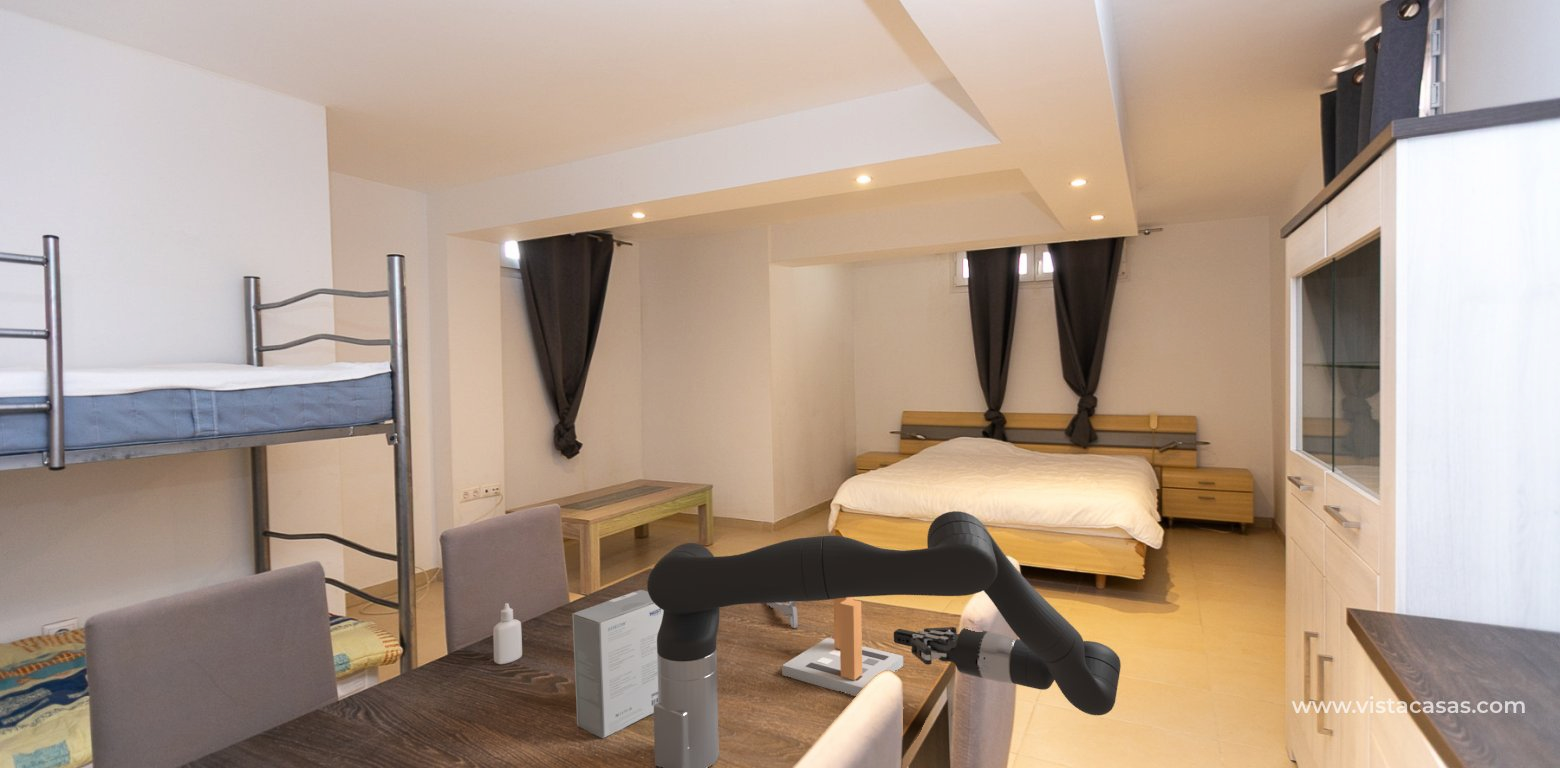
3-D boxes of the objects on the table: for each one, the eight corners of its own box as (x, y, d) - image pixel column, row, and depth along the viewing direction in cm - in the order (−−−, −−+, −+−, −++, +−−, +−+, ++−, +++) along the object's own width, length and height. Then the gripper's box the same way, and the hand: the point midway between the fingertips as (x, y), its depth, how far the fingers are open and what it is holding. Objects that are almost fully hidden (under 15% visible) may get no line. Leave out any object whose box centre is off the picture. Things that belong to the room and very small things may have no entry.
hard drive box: (645, 693, 136) (642, 588, 135) (672, 705, 131) (670, 596, 130) (574, 726, 124) (571, 611, 123) (602, 740, 119) (599, 621, 118)
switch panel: (862, 698, 132) (862, 687, 132) (782, 675, 143) (782, 664, 142) (903, 665, 146) (903, 655, 146) (827, 646, 156) (827, 637, 156)
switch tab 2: (854, 680, 135) (853, 606, 134) (840, 676, 136) (839, 603, 136) (862, 674, 137) (861, 601, 137) (848, 670, 139) (847, 598, 138)
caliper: (798, 629, 167) (797, 603, 167) (793, 630, 167) (793, 603, 167) (767, 603, 186) (767, 578, 186) (763, 603, 186) (763, 579, 186)
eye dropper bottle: (493, 658, 153) (492, 602, 153) (521, 653, 156) (520, 598, 155) (494, 666, 149) (492, 608, 149) (523, 661, 151) (521, 604, 151)
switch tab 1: (846, 651, 148) (845, 583, 148) (834, 648, 150) (833, 581, 150) (854, 646, 151) (853, 580, 150) (841, 643, 152) (840, 577, 152)
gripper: (1001, 621, 126) (910, 604, 136) (974, 646, 116) (877, 626, 126) (1002, 663, 127) (911, 643, 137) (975, 692, 116) (879, 669, 126)
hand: (895, 635), depth 131 cm, fingers closed
